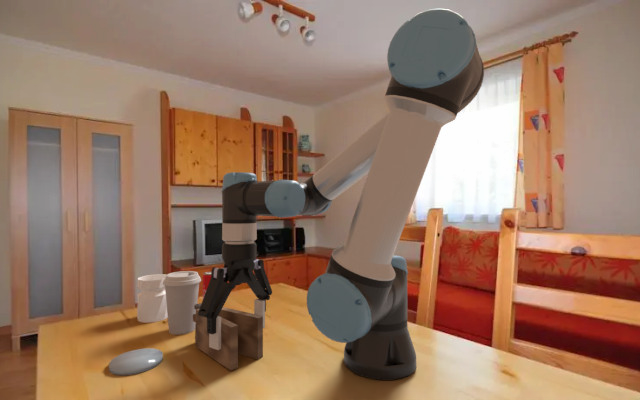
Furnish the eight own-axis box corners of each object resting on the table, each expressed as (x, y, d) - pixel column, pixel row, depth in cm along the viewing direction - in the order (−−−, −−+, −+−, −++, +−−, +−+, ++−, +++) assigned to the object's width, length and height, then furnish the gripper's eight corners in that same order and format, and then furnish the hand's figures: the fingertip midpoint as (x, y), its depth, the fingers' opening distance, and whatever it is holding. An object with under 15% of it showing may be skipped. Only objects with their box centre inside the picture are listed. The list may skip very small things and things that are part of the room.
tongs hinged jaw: (238, 367, 69) (238, 324, 69) (230, 370, 67) (230, 327, 67) (197, 340, 82) (197, 305, 82) (190, 342, 81) (190, 306, 81)
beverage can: (217, 313, 103) (217, 274, 103) (200, 313, 103) (200, 274, 103) (222, 308, 108) (222, 271, 108) (206, 308, 108) (206, 271, 109)
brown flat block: (262, 356, 74) (262, 315, 74) (251, 363, 71) (251, 319, 71) (203, 338, 84) (203, 301, 84) (191, 343, 81) (191, 305, 81)
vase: (169, 320, 98) (169, 278, 98) (135, 324, 94) (135, 281, 94) (170, 311, 106) (170, 273, 106) (138, 314, 102) (138, 275, 102)
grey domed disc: (172, 359, 73) (172, 354, 73) (125, 380, 64) (126, 375, 64) (145, 349, 78) (145, 344, 78) (99, 367, 70) (99, 362, 70)
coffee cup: (187, 338, 84) (188, 278, 84) (154, 335, 86) (154, 277, 86) (207, 324, 94) (208, 271, 94) (177, 322, 96) (177, 269, 96)
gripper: (263, 236, 88) (263, 317, 88) (180, 246, 66) (179, 354, 66) (286, 237, 84) (286, 322, 84) (205, 249, 62) (205, 363, 62)
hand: (238, 336), depth 75 cm, fingers open, 13 cm apart
